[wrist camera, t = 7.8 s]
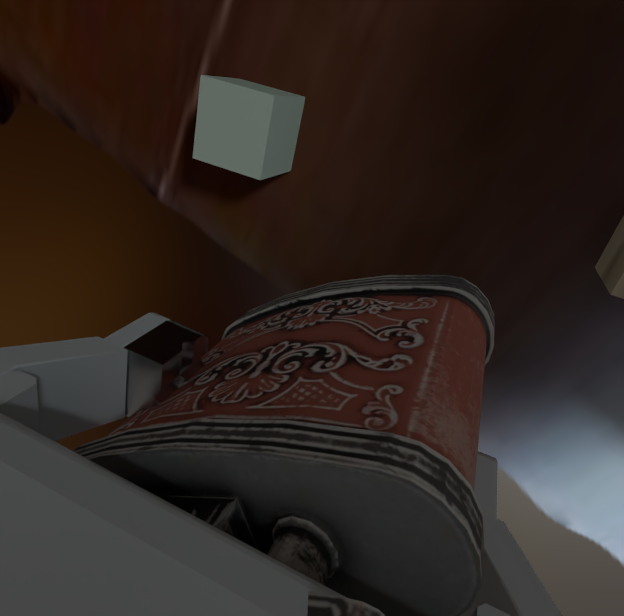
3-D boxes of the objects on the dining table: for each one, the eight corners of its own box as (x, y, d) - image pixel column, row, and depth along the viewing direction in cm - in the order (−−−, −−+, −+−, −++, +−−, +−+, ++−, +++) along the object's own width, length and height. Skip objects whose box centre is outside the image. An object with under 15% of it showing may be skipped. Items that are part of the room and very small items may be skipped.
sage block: (305, 97, 31) (274, 95, 27) (291, 170, 34) (260, 180, 29) (240, 79, 32) (200, 74, 28) (230, 151, 35) (192, 158, 30)
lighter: (254, 394, 16) (-38, 732, 7) (219, 304, 15) (-162, 571, 6) (506, 372, 12) (504, 972, 4) (481, 252, 11) (407, 691, 3)
